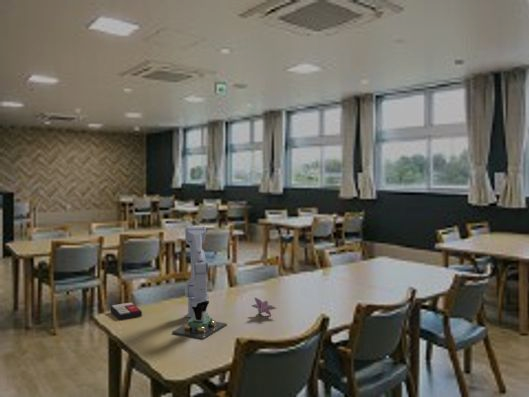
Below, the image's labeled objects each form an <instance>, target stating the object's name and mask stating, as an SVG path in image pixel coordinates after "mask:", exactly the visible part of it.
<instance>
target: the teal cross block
mask: <svg viewBox="0 0 529 397" xmlns="http://www.w3.org/2000/svg"><path fill="white" fill-rule="evenodd" d="M206 312H207V311H206ZM206 312H204V311H202V317H201V320H196V317H195V313H193V317H192V318H191V317H190V319H189V320H188V321H187V323H188V322H189V324H190V326H194V327H200V326H201V325H205V326H207V324H208V323H209V322H210V321H211V320H212V319H213V318H212V317H210V315H208V314H206Z"/></svg>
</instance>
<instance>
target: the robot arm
mask: <svg viewBox="0 0 529 397" xmlns="http://www.w3.org/2000/svg"><path fill="white" fill-rule="evenodd" d="M184 229H185V230H184V232H185V233H184V235H185V236H184V237H185V244H186V245H189V249H190V278H189V279H187V280H186V282H185V288H184V295H185V297H186V299H187V314H185V315H184V317H185V318H186V317H187V318H190V319H191V318H192V317H193V313H195V317H196V320H201V317H202V311H204V312H206V315H208V314H209V312H207V308H208V306H209V303H210V300H209V294H207V293H208V292H207V291H208V288H207V287H208V284H207V283H208V281H207V280H208V273H209V264H208V263H209V262H208V261H207V260H208V259H207V258H206V253H205V251H204V249H203V244H204V243H205V242H206V238H207V228H206V227H205V226H186V227H185V228H184Z"/></svg>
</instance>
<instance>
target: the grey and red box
mask: <svg viewBox="0 0 529 397" xmlns="http://www.w3.org/2000/svg"><path fill="white" fill-rule="evenodd" d="M110 313H111V315H113V316H114V317H115V318H116V319H117V320H118V321H124V320H130V319H135V318H140V317H142V316H143V311H142V309H140V308H139V307H137V305H135V304H134V303H133V302H126V303H125V302H124V303H119V304H113V305H110Z"/></svg>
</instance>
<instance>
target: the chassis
mask: <svg viewBox="0 0 529 397" xmlns="http://www.w3.org/2000/svg"><path fill="white" fill-rule="evenodd" d="M227 325H228V324H227V322H221V321H216V320H215V319H213V318H212V320H211V321H210V322H209V323H208V324H207V326H205V325H201V326H200V327H194V326H190V324H189V322H188V321H187V323H185V324H184V325H182V326H180V327H179V328H176V329H174V330H172V332H171V334H172V335H177V336H184V337H187V338H193V339H198V340H205V339H207V338H209V337H211V336H212V335H214V334H216V332H218V331H220V330H222V329H223V328H225V327H227Z"/></svg>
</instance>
